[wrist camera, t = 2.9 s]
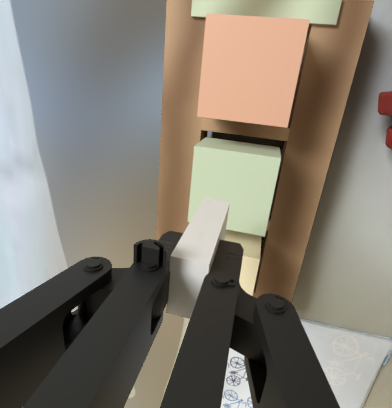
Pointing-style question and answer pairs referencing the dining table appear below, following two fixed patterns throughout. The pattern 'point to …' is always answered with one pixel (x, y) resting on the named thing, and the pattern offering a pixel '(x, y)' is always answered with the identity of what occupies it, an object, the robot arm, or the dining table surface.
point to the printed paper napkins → (323, 365)
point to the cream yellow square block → (247, 257)
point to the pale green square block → (236, 181)
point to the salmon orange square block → (250, 68)
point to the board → (292, 135)
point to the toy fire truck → (386, 112)
